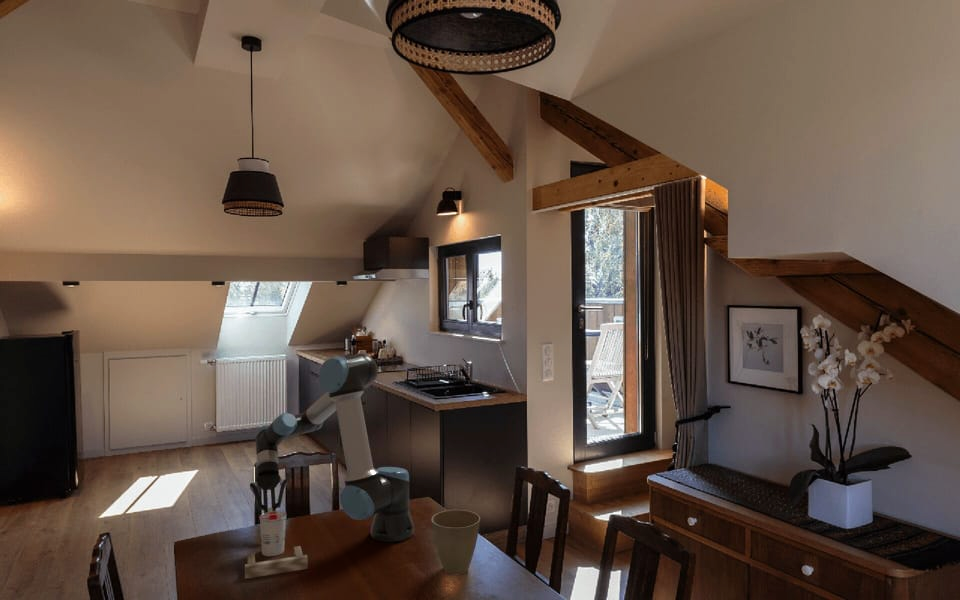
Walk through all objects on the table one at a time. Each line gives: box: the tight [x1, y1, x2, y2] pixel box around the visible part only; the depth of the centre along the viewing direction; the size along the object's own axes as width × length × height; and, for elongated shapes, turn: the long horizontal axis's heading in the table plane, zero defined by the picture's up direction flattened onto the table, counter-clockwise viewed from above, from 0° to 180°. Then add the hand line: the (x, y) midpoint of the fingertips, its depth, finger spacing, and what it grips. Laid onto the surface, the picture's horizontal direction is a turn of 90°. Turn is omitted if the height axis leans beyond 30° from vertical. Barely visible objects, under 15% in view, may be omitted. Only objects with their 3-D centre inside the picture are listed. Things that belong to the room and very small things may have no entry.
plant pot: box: [431, 509, 481, 575], centre depth 189 cm, size 15×15×16 cm
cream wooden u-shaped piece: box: [244, 545, 309, 580], centre depth 192 cm, size 18×11×4 cm, turn 112°
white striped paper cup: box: [258, 510, 289, 557], centre depth 202 cm, size 10×8×12 cm
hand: (270, 527), depth 210 cm, fingers closed
